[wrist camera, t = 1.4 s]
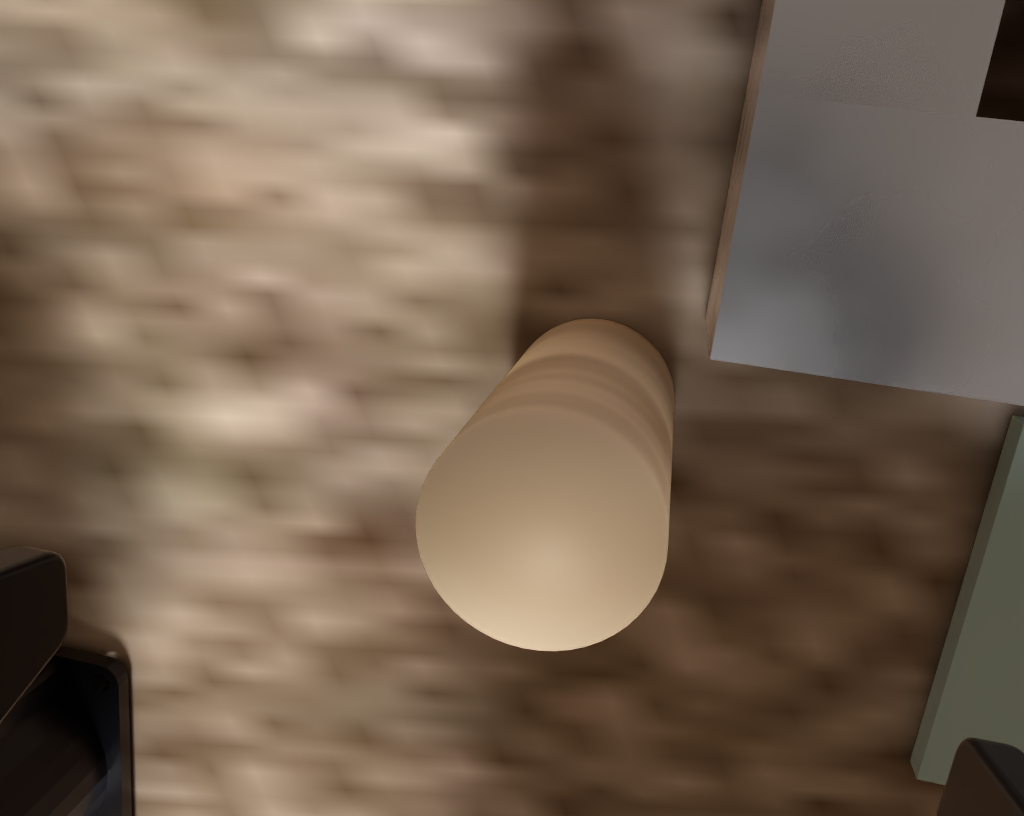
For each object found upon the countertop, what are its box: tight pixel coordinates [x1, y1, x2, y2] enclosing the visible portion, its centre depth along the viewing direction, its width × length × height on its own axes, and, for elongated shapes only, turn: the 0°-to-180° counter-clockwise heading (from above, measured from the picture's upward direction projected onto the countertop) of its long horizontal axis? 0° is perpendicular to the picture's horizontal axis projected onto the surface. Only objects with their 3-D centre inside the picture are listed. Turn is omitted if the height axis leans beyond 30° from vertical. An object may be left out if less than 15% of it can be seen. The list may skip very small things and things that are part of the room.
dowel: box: [416, 318, 675, 651], centre depth 15 cm, size 3×3×7 cm
